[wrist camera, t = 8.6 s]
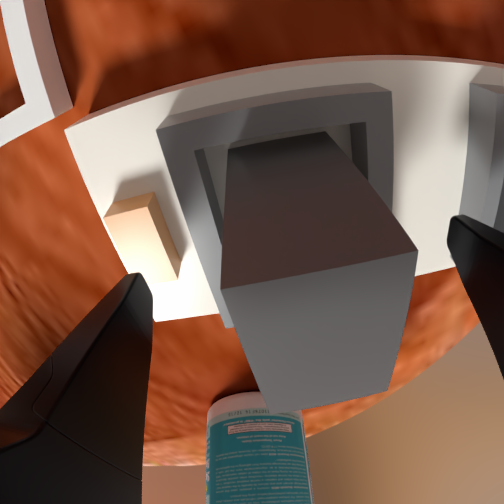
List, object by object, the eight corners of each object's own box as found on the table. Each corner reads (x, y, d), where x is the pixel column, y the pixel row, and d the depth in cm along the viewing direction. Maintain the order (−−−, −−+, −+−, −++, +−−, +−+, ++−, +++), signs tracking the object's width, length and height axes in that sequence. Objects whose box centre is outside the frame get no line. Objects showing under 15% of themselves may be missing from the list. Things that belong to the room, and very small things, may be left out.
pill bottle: (188, 400, 23) (182, 568, 12) (277, 376, 21) (296, 571, 10) (237, 430, 27) (242, 564, 16) (313, 411, 25) (333, 558, 14)
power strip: (162, 290, 16) (150, 348, 13) (87, 114, 10) (41, 146, 7) (525, 221, 14) (559, 258, 11) (547, 73, 8) (596, 95, 6)
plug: (257, 263, 12) (270, 414, 7) (227, 149, 9) (220, 289, 5) (336, 247, 12) (387, 390, 7) (325, 131, 9) (418, 250, 4)
